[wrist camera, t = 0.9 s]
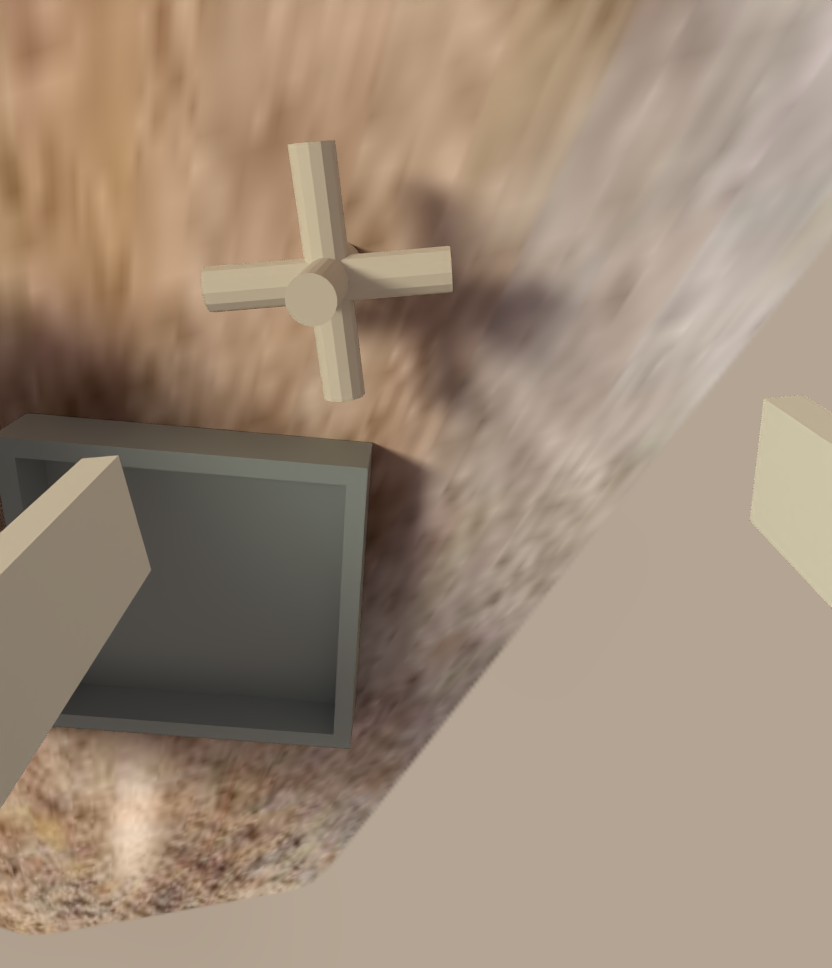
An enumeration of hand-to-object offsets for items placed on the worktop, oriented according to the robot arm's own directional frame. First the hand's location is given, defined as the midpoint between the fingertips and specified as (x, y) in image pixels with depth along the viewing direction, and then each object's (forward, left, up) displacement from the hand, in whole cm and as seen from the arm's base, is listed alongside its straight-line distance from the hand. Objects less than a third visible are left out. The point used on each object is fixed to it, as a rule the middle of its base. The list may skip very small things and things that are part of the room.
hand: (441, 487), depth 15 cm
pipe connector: (-4, +1, -22) cm, 22 cm away
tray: (-11, -17, -22) cm, 29 cm away
